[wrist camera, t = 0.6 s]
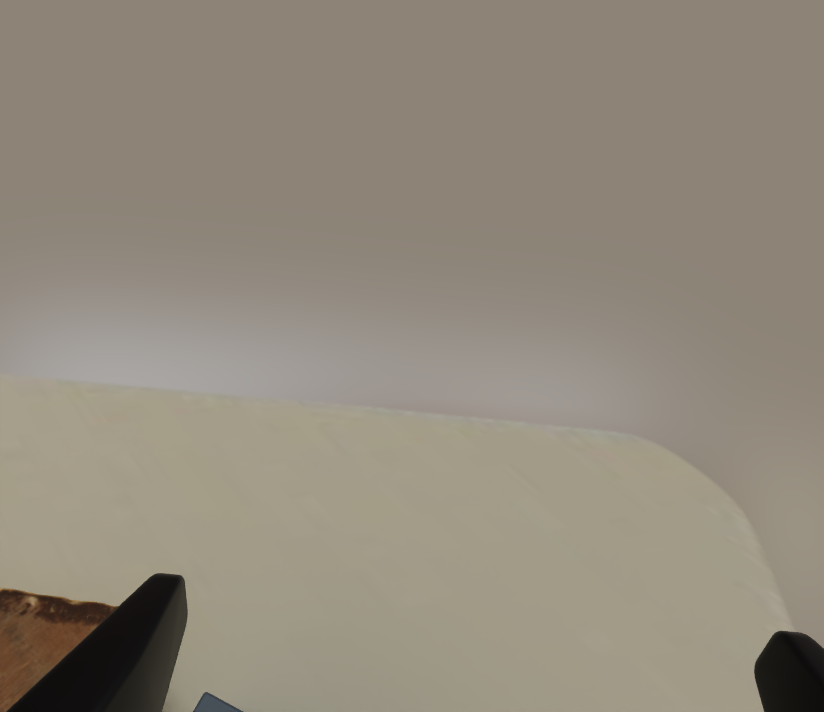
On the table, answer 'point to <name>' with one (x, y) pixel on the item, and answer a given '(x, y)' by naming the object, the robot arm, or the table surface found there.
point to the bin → (213, 705)
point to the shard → (39, 636)
